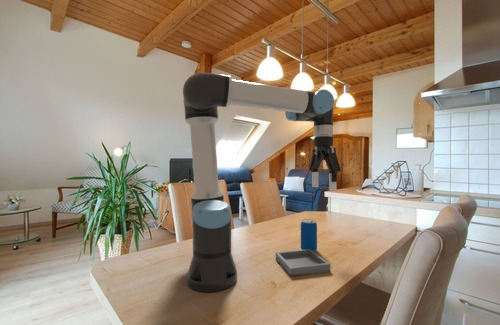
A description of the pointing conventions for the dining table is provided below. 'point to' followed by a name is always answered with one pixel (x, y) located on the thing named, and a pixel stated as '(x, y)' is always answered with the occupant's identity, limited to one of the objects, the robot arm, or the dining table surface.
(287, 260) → the tray
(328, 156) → the robot arm
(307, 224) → the beverage can
